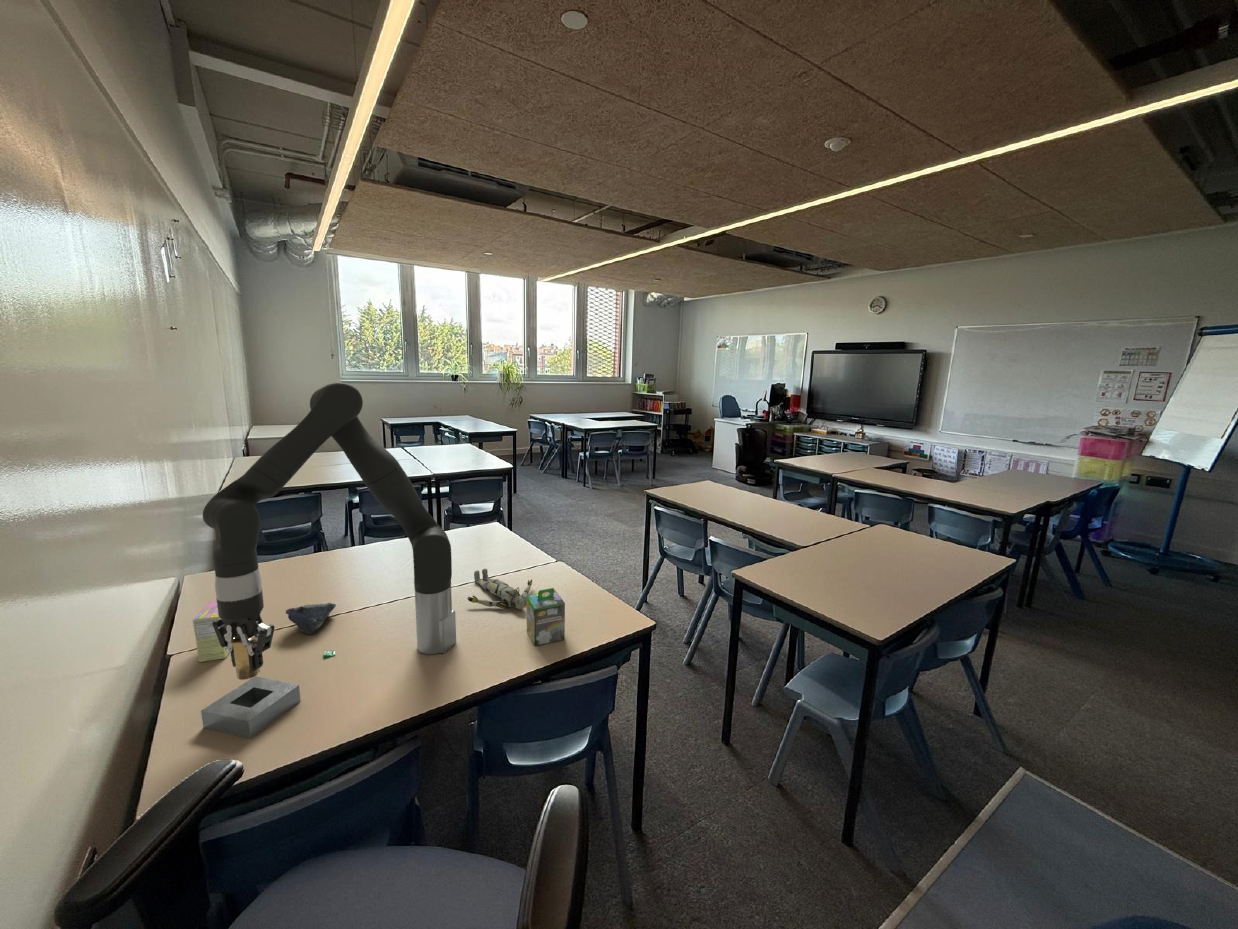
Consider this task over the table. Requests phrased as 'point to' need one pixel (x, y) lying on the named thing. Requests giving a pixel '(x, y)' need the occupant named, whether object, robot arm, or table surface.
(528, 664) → the table surface
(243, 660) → the cylinder
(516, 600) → the action figure
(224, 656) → the box
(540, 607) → the chalk box
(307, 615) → the rock
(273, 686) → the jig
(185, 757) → the table surface
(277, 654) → the table surface
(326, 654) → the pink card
